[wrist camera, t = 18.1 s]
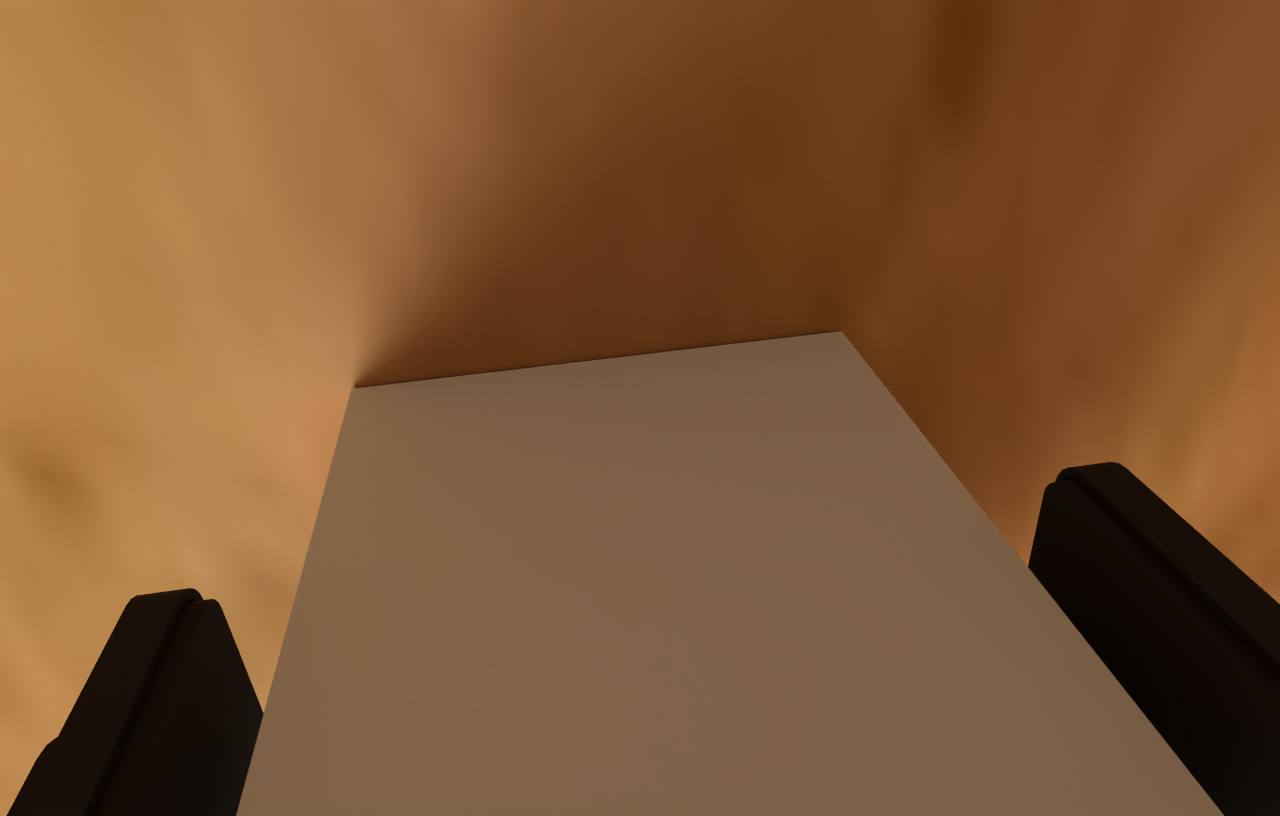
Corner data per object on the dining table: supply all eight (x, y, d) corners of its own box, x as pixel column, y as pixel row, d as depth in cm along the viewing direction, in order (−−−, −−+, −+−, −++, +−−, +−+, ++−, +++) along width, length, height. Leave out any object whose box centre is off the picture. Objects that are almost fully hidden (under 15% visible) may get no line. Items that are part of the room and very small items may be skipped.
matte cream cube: (816, 667, 18) (1049, 1219, 11) (439, 725, 17) (401, 1366, 10) (841, 331, 14) (1242, 837, 7) (351, 388, 13) (177, 1035, 6)
